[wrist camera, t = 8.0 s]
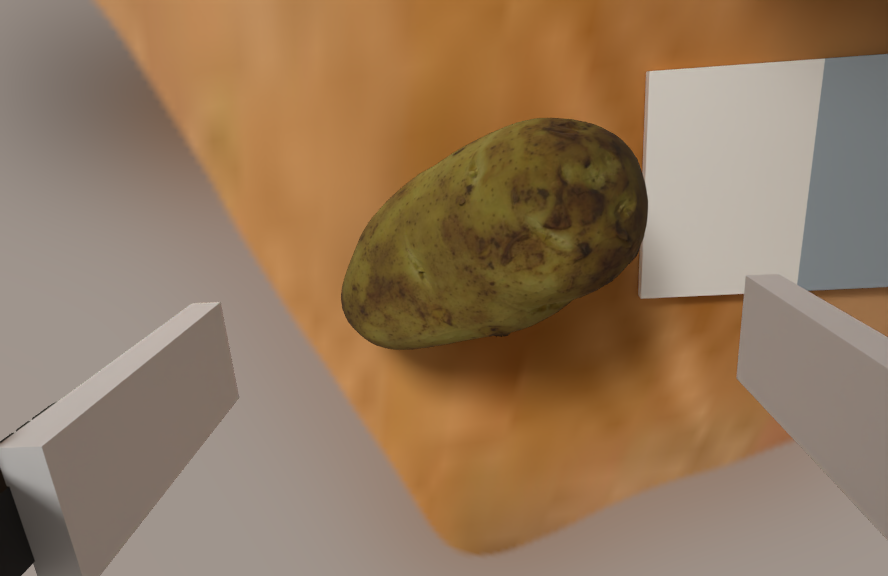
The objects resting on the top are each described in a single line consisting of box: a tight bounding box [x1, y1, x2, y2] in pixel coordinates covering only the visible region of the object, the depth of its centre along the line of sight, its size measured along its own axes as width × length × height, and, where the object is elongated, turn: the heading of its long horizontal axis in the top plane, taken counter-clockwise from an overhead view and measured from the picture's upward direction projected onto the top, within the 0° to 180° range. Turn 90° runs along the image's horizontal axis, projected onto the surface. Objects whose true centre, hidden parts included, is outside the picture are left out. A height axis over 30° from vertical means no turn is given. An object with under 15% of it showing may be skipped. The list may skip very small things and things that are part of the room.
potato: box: [341, 118, 648, 350], centre depth 24 cm, size 8×13×8 cm, turn 104°
